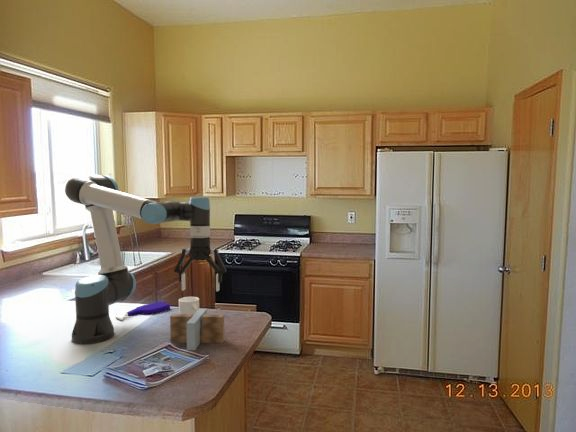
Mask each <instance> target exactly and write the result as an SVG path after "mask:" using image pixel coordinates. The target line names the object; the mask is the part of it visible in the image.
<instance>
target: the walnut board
mask: <svg viewBox="0 0 576 432" xmlns="http://www.w3.org/2000/svg"><path fill="white" fill-rule="evenodd" d="M192 316H193V314H179V313H172V314H171V315H170V316H169V317H170V318H169V319H170V321H169V322H170V342H171V343H187V326H186V323H187V322H188V321H189V320H190V319H191V318H192ZM224 342H225V314H208V313H207V314H204V315H203V316H202V328H201V329H200V344H202V343H203V344H205V343H206V344H223V343H224Z"/></svg>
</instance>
